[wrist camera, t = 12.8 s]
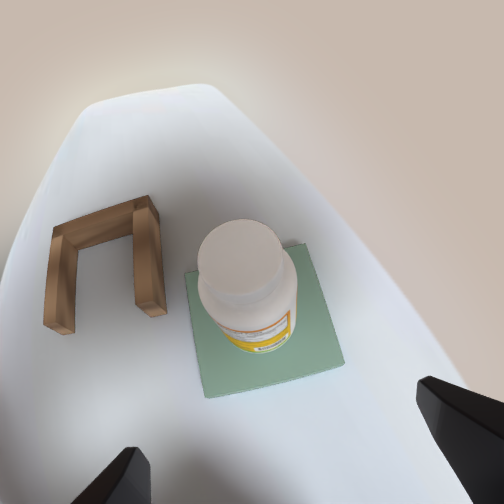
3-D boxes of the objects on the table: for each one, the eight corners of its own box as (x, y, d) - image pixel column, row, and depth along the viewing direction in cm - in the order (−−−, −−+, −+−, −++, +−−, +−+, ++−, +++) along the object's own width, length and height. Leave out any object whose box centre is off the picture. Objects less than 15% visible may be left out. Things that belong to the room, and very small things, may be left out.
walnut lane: (167, 313, 25) (153, 300, 23) (62, 335, 25) (43, 324, 23) (158, 213, 31) (147, 194, 28) (68, 242, 30) (53, 227, 28)
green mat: (342, 365, 22) (344, 362, 21) (208, 398, 22) (204, 397, 20) (304, 250, 27) (305, 243, 26) (188, 279, 27) (184, 273, 26)
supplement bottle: (242, 275, 25) (216, 194, 16) (307, 300, 23) (315, 225, 15) (209, 336, 23) (161, 282, 14) (277, 366, 21) (268, 329, 13)
